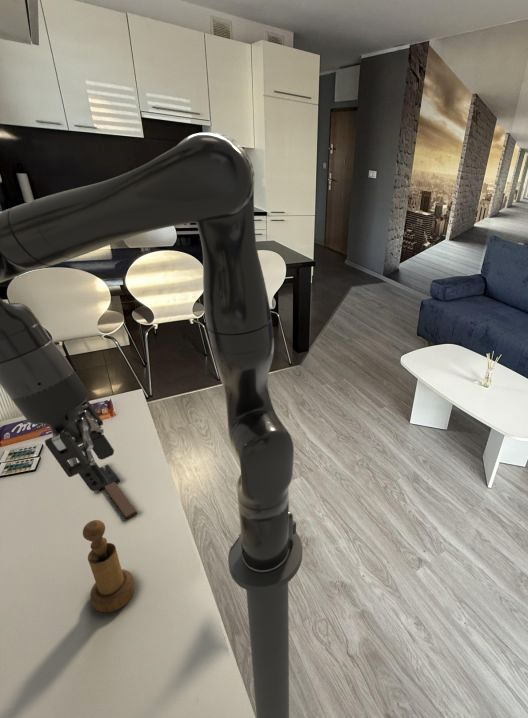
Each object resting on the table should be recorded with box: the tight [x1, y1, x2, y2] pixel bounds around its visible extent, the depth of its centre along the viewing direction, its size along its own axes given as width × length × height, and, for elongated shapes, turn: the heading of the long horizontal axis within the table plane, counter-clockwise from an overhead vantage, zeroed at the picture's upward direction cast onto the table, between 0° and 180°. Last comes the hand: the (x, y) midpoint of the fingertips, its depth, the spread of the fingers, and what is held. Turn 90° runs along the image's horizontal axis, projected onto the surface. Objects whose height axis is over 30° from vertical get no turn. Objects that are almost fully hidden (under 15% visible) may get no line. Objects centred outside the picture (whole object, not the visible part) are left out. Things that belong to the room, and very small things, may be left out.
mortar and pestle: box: [82, 519, 136, 613], centre depth 67 cm, size 7×6×18 cm
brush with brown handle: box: [97, 464, 138, 520], centre depth 90 cm, size 19×4×1 cm, turn 49°
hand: (104, 470), depth 60 cm, fingers open, 8 cm apart
